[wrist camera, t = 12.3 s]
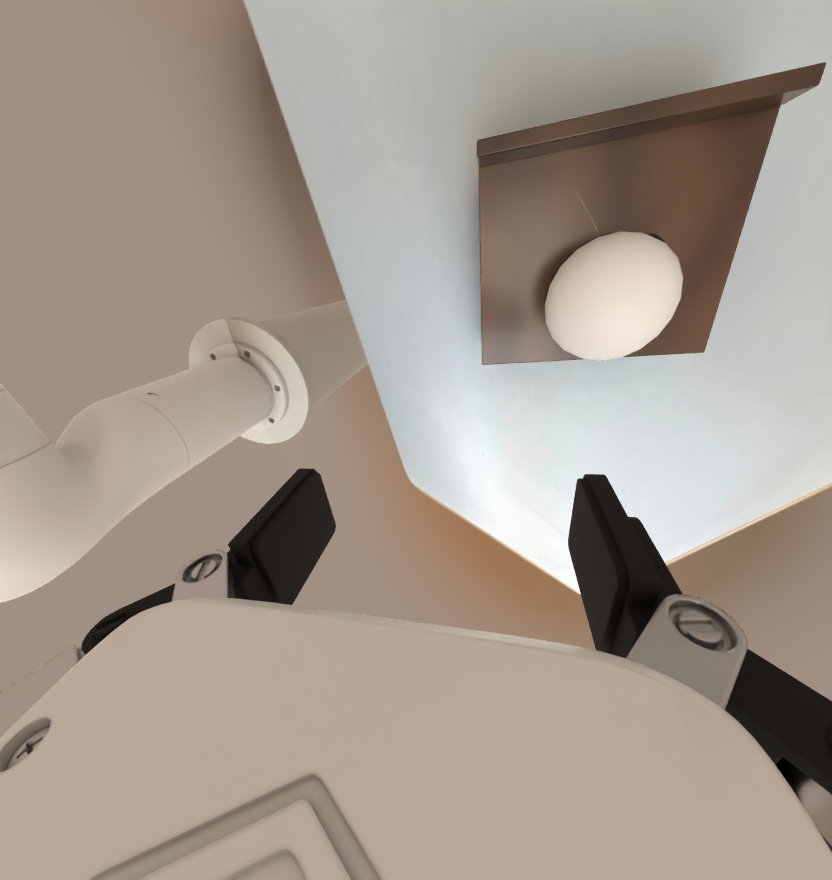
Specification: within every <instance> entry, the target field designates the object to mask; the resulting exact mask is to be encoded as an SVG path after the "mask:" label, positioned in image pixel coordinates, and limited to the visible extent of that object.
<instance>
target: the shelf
mask: <svg viewBox="0 0 832 880" xmlns="http://www.w3.org/2000/svg"><path fill="white" fill-rule="evenodd" d="M825 65H826V63H819V64H815V65H810V66H806V67H801V68H797V69H792V70H788V71H783V72H779V73H775V74H770V75H766V76H761V77H757V78H752V79H748V80H743V81H739V82H734V83H730V84H725V85H721V86H716V87H712V88H708V89H703V90H699V91H694V92H690V93H685V94H681V95H676V96H672V97H667V98H663V99H658V100H654V101H650V102H645V103H641V104H636V105H632V106H627V107H623V108H618V109H614V110H609V111H605V112H600V113H596V114H591V115H587V116H583V117H578V118H574V119H569V120H565V121H560V122H556V123H551V124H547V125H542V126H538V127H533V128H529V129H525V130H520V131H516V132H511V133H507V134H502V135H498V136H493V137H489V138H484V139H480V140H477V159H478V165H479V216H480V274H481V332H482V365H488V364H506V363H524V362H542V361H560V360H577V359H583V358H580V357H578V356H575V355H573V354H571V353H569V352H567V351H565V350H563V349H562V348H561V347H560V346H559V345H558V344H557V343H556V342H555V341H554V340H553V339H552V336H551V334H550V332H549V329H548V327H547V325H546V317H545V302H546V300H545V296H546V292H547V289H548V286H549V283H550V281H551V279H552V277H553V275H554V274H555V272H556V271H557V269H558V268H559V266H560V265H561V264H562V262H563V261H564V260H565V259H566V258H567V257H568V256H569V255H570V254H571V253H572V252H573V251H575V250H576V249H577V248H578V247H580V246H581V245H583V244H584V243H586V242H588V241H589V240H591V239H593V238H596V237H598V236H600V235H603V234H607V233H610V232H616V231H635V232H641V233H644V234H651V233H655V234H656V235H658V236H659V237H661V238H662V239H663V240H664V241H665V242H666V243H667V244H668V245H669V247H670V248H671V249H672V251H673V252H674V254H675V255H676V256H677V257H678V259H679V263H680V267H681V271H682V275H683V284H682V292H681V299H680V301H679V303H678V306H677V308H676V310H675V312H674V315H673V317H672V319H671V320H670V321H669V322H668V324H667V325H666V326H665V327H664V329H663V330H662V331H661V332H660V334H659V335H658V336H657V337H655V338H654V339H653V340H651V341H650V342H649V343H648V344H646V345H645V346H644V347H642V348H641V349H639V350H637V351H635V352H633V353H630V354H628V355H626V356H624V357H631V356H649V355H667V354H685V353H703V352H704V351H705V348H706V345H707V341H708V338H709V335H710V332H711V328H712V325H713V322H714V319H715V315H716V312H717V309H718V306H719V303H720V299H721V296H722V293H723V290H724V286H725V283H726V280H727V277H728V273H729V270H730V267H731V264H732V260H733V257H734V254H735V251H736V248H737V244H738V241H739V238H740V235H741V231H742V228H743V225H744V222H745V218H746V215H747V212H748V209H749V205H750V202H751V199H752V196H753V193H754V189H755V186H756V183H757V180H758V176H759V173H760V170H761V167H762V163H763V160H764V157H765V154H766V150H767V147H768V144H769V141H770V138H771V134H772V131H773V128H774V125H775V121H776V118H777V115H778V112H779V108H780V106H781V105H783V104H785V103H786V102H788V101H790V100H792V99H794V98H796V97H797V96H799V95H801V94H803V93H805V92H807V91H808V90H810V89H812V88H814V87H816V86H817V85H818V84H819V83H820V80H821V77H822V74H823V71H824V68H825ZM575 190H576V191H575ZM577 193H578V194H577ZM578 195H579V196H580V197H579V196H578ZM580 198H581V199H580ZM581 200H582V201H581ZM582 202H583V203H582ZM583 204H584V205H583ZM584 206H585V207H584ZM585 208H586V209H585ZM586 210H587V211H586ZM587 212H588V213H587ZM589 215H590V216H589ZM590 217H591V218H590ZM592 220H593V221H592ZM593 222H594V223H593ZM594 224H595V226H596V228H595V226H594ZM596 229H597V230H596Z"/></svg>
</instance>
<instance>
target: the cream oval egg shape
mask: <svg viewBox="0 0 832 880" xmlns="http://www.w3.org/2000/svg"><path fill="white" fill-rule="evenodd" d="M575 191H576V190H575ZM577 194H578V193H577ZM578 196H579V195H578ZM579 197H580V196H579ZM580 199H581V198H580ZM581 201H582V200H581ZM582 203H583V202H582ZM583 205H584V204H583ZM584 207H585V206H584ZM585 209H586V208H585ZM586 211H587V210H586ZM587 213H588V212H587ZM589 216H590V215H589ZM590 218H591V217H590ZM592 221H593V220H592ZM593 223H594V222H593ZM594 226H595V224H594ZM595 228H596V226H595ZM596 230H597V229H596ZM682 284H683V275H682V271H681V267H680V263H679V259H678V257H677V256H676V255H675V254H674V252H673V251H672V249H671V248H670V247H669V245H668V244H667V243H666V242H665V241H664V240H663V239H662V238H661V237H659V236H658V235H656V234H655V233H651V234H644V233H641V232H635V231H616V232H610V233H607V234H603V235H600V236H598V237H596V238H593V239H591V240H589V241H588V242H586V243H584V244H583V245H581V246H580V247H578V248H577V249H576V250H575V251H573V252H572V253H571V254H570V255H569V256H568V257H567V258H566V259H565V260H564V261H563V262H562V264H561V265H560V266H559V268H558V269H557V271H556V272H555V274H554V275H553V277H552V279H551V281H550V283H549V286H548V289H547V292H546V296H545V300H546V302H545V317H546V325H547V327H548V329H549V332H550V334H551V336H552V339H553V340H554V341H555V342H556V343H557V344H558V345H559V346H560V347H561V348H562V349H563V350H565V351H567V352H569V353H571V354H573V355H575V356H578V357H580V358H583V359H590V360H599V361H604V360H610V359H616V358H621V357H624V356H626V355H628V354H630V353H633V352H635V351H637V350H639V349H641V348H642V347H644V346H645V345H646V344H648V343H649V342H650V341H651V340H653V339H654V338H655V337H657V336H658V335H659V334H660V332H661V331H662V330H663V329H664V327H665V326H666V325H667V324H668V322H669V321H670V320H671V319H672V317H673V315H674V312H675V310H676V308H677V306H678V303H679V301H680V299H681V292H682Z"/></svg>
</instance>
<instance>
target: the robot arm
mask: <svg viewBox="0 0 832 880" xmlns="http://www.w3.org/2000/svg"><path fill="white" fill-rule="evenodd" d="M287 408H288V391H287V387H286V384H285V382H284V379H283V377H282V375H281V374H280V372H279V370H278V369H277V367H276V366H275V365H274V364H273V363H272V362H271V360H270V359H269V358H267V357H266V356H265V355H264V354H263V353H261V352H260V351H258V350H257V349H255V348H253V347H251V346H249V345H246V344H242V343H236V342H230V343H225V344H221V345H219V346H216V347H214V348H213V349H212V350H210V351H209V353H208V354H207V355H206V357H205V360H204V363H203V365H200V366H197V367H194V368H191V369H189V370H186V371H183V372H180V373H177V374H174V375H171V376H169V377H166V378H163V379H160V380H157V381H154V382H151V383H149V384H146V385H143V386H140V387H138V388H134V389H131V390H129V391H126V392H123V393H120V394H118V395H114V396H111V397H109V398H106V399H103V400H100V401H98V402H96V403H94V404H92V405H90V406H88V407H87V408H85V409H84V410H82V411H81V412H80V413H79V414H77V415H76V416H75V417H74V418H73V419H72V421H71V422H70V423H69V424H68V425H67V427H66V428H65V430H64V431H63V433H62V434H61V436H60V437H59V439H58V441H57V442H56V444H54V443H53V442H52V441H49V439H48V438H47V437H46V436H45V435H44V434H43V432H42V431H41V430H40V429H39V428H38V427H37V425H36V424H35V423H34V422H33V421H32V419H31V418H30V417H29V416H28V415H27V414H26V412H25V411H24V410H23V409H22V408H21V407H20V406H19V404H18V403H17V402H16V401H15V399H14V398H13V397H12V396H11V395H10V394H9V392H8V391H7V390H6V389H5V388H4V386H3V385H2V384H1V383H0V603H1V602H5V601H8V600H12V599H15V598H17V597H20V596H22V595H25V594H27V593H29V592H32V591H33V590H36V589H38V588H39V587H41V586H43V585H44V584H46V583H48V582H50V581H51V580H53V579H54V578H56V577H57V576H58V575H60V574H61V573H63V572H64V571H65V570H66V569H68V568H69V567H71V566H72V565H73V564H74V563H75V562H77V561H78V560H79V559H80V558H81V557H82V556H84V555H85V554H86V553H87V552H88V551H89V550H90V549H91V548H92V547H93V546H94V545H95V544H96V543H97V542H98V541H99V540H100V539H101V538H102V537H103V536H105V535H106V534H107V533H108V532H109V531H110V530H111V529H112V528H113V527H114V526H115V525H116V524H117V523H118V522H120V521H121V520H122V519H123V518H124V517H125V516H127V515H128V514H129V513H130V512H131V511H133V510H134V509H135V508H136V507H138V506H139V505H140V504H141V503H143V502H144V501H145V500H147V499H148V498H149V497H151V496H152V495H153V494H155V493H156V492H158V491H159V490H160V489H162V488H163V487H164V486H166V485H167V484H169V483H170V482H172V481H173V480H175V479H176V478H178V477H179V476H181V475H182V474H184V473H185V472H186V471H188V470H190V469H191V468H193V467H194V466H196V465H197V464H199V463H200V462H201V461H203V460H204V459H206V458H207V457H209V456H210V455H212V454H213V453H215V452H216V451H217V450H219V449H221V448H222V447H223V446H225V445H226V444H228V443H229V442H231V441H232V440H234V439H235V438H237V437H238V436H240V435H241V434H243V433H244V432H246V431H247V430H249V429H256V430H262V429H267V428H270V427H272V426H274V425H275V424H277V423H278V422H279V421H280V420H282V418H283V417H284V415H285V414H286V411H287ZM335 528H336V524H335V520H334V518H333V514H332V511H331V508H330V505H329V501H328V498H327V495H326V492H325V488H324V485H323V482H322V479H321V476H320V474H319V473H317V472H316V471H315V469H298V470H297V471H296V472H295V473H294V475H293V476H292V477H291V478H290V479H289V480H288V481H287V482H286V483H285V484H284V485H283V486H282V487H281V488H280V489H279V490H278V491H277V492H276V494H275V495H274V496H273V497H272V498H271V499H270V500H269V501H268V502H267V503H266V504H265V505H264V507H262V508H261V510H260V511H259V512H258V513H257V514H256V515H255V516H254V517H253V518H252V519H251V520H250V521H249V522H248V523H247V525H246V526H245V527H244V528H243V529H242V530H241V531H240V532H239V533H238V534H237V535H236V536H235V537H234V539H232V540H231V541H230V543H229V544H228V545H229V547H230V551H229V552H228V553H226V552H224V551H222V550H211V551H208V552H204V553H202V554H200V555H198V556H196V557H195V558H193V559H192V560H190V561H189V562H188V563H187V564H186V565H184V566H183V568H182V569H181V570H180V572H179V573H178V576H177V578H176V583H175V584H173V585H171V586H168V587H166V588H164V589H162V590H160V591H158V592H156V593H153V594H152V595H149V596H147V597H145V598H143V599H140V600H138V601H136V602H134V603H132V604H130V605H128V606H125V607H123V608H121V609H119V610H117V611H115V612H113V613H111V614H109V615H108V616H106V617H105V618H103V619H102V620H101V621H100V622H99V623H98V624H97V625H95V626H94V627H93V628H92V629H91V630H90V632H89V633H88V634H87V635H86V637H85V639H84V641H83V643H82V646H81V647H77V646H76V645H73V646H72V647H70V648H69V649H67V650H66V651H64V652H63V653H61V654H59V655H58V656H56V657H55V658H53V659H51V660H50V661H48V662H47V663H45V664H44V665H42V666H41V667H39V668H37V669H36V670H34V671H33V672H31V673H30V674H28V675H26V676H25V677H23V678H22V679H20V680H19V681H17V682H15V683H14V684H12V685H11V686H9V687H8V688H6V689H5V690H3V691H1V692H0V880H832V701H830V700H829V699H827V698H825V697H824V696H822V695H821V694H819V693H817V692H816V691H814V690H813V689H811V688H809V687H808V686H806V685H805V684H803V683H802V682H800V681H798V680H797V679H795V678H793V677H792V676H790V675H789V674H787V673H786V672H784V671H782V670H781V669H779V668H778V667H776V666H774V665H773V664H771V663H770V662H768V661H766V660H765V659H763V658H762V657H760V656H758V655H757V654H755V653H754V652H752V651H750V650H748V649H747V639H746V637H745V634H744V632H743V630H742V629H741V628H740V626H739V625H738V624H737V623H736V621H735V620H734V619H733V618H732V617H730V616H729V615H728V614H727V613H726V612H725V611H723V610H722V609H720V608H718V607H717V606H715V605H714V604H712V603H710V602H708V601H706V600H703V599H701V598H699V597H695V596H691V595H686V594H682V593H681V591H680V589H679V587H678V585H677V584H676V582H675V580H674V578H673V577H672V575H671V573H670V572H669V570H668V568H667V566H666V564H665V563H664V561H663V559H662V558H661V556H660V554H659V552H658V551H657V549H656V547H655V545H654V544H653V542H652V540H651V538H650V537H649V535H648V533H647V531H646V530H645V528H644V526H643V524H642V523H641V521H640V520H639V519H638V518H636V517H628V516H627V514H626V512H625V511H624V509H623V507H622V505H621V503H620V501H619V499H618V498H617V496H616V494H615V492H614V490H613V488H612V486H611V484H610V483H609V481H608V479H607V477H606V476H605V475H595V474H585V475H584V477H583V479H578V480H577V484H576V491H575V497H574V504H573V511H572V518H571V524H570V531H569V538H568V546H569V551H570V555H571V559H572V562H573V566H574V570H575V574H576V577H577V581H578V585H579V588H580V592H581V596H582V600H583V603H584V607H585V611H586V615H587V618H588V622H589V625H590V629H591V633H592V637H593V641H594V644H595V648H596V650H592V649H587V648H583V647H577V646H573V645H567V644H562V643H556V642H550V641H543V640H537V639H531V638H524V637H518V636H512V635H506V634H498V633H491V632H484V631H477V630H470V629H463V628H456V627H449V626H442V625H435V624H428V623H421V622H414V621H406V620H399V619H392V618H385V617H378V616H370V615H363V614H356V613H348V612H341V611H333V610H325V609H317V608H310V607H303V606H295V605H292V604H293V602H294V601H295V599H296V597H297V596H298V594H299V592H300V590H301V589H302V587H303V585H304V583H305V582H306V580H307V578H308V577H309V575H310V573H311V572H312V570H313V568H314V566H315V565H316V563H317V561H318V560H319V558H320V556H321V555H322V553H323V551H324V549H325V548H326V546H327V544H328V543H329V541H330V539H331V537H332V536H333V534H334V532H335Z"/></svg>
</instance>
